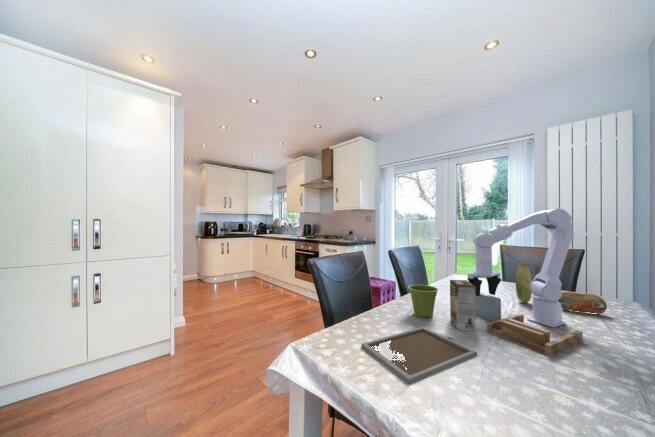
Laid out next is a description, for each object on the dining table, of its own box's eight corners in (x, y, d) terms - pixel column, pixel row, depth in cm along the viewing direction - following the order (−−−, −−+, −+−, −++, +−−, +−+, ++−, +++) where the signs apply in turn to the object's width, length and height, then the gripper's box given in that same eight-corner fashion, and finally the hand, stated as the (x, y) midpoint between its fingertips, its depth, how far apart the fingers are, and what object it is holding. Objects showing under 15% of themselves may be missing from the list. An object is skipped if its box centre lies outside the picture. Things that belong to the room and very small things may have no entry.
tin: (557, 309, 105) (557, 290, 106) (555, 307, 108) (555, 289, 108) (607, 316, 98) (606, 296, 98) (603, 314, 100) (603, 294, 101)
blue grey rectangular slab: (475, 311, 104) (475, 290, 104) (501, 322, 92) (500, 298, 92) (470, 311, 103) (470, 290, 103) (496, 322, 91) (495, 299, 92)
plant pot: (440, 313, 101) (440, 286, 101) (436, 322, 91) (436, 293, 91) (411, 307, 107) (411, 283, 108) (405, 316, 97) (405, 288, 98)
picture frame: (361, 343, 73) (428, 324, 86) (361, 348, 73) (428, 329, 86) (408, 379, 56) (482, 349, 69) (408, 386, 56) (482, 354, 69)
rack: (520, 321, 92) (519, 313, 92) (582, 341, 77) (582, 331, 77) (486, 331, 83) (486, 323, 83) (550, 356, 67) (550, 346, 67)
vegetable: (536, 304, 112) (535, 262, 113) (525, 305, 111) (524, 262, 112) (523, 300, 118) (522, 260, 119) (513, 301, 117) (512, 260, 118)
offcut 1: (505, 333, 82) (504, 320, 82) (545, 348, 72) (544, 333, 73) (501, 334, 81) (501, 321, 82) (541, 349, 72) (541, 334, 72)
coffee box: (449, 319, 94) (449, 279, 94) (467, 321, 92) (466, 280, 93) (457, 329, 85) (456, 284, 85) (477, 331, 83) (476, 285, 84)
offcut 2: (510, 331, 84) (510, 318, 84) (550, 345, 74) (550, 331, 74) (507, 332, 83) (507, 319, 83) (547, 347, 73) (546, 332, 73)
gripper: (477, 264, 93) (478, 299, 92) (507, 263, 96) (507, 296, 96) (463, 261, 100) (463, 294, 99) (491, 260, 103) (492, 291, 103)
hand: (484, 295), depth 98 cm, fingers open, 7 cm apart
